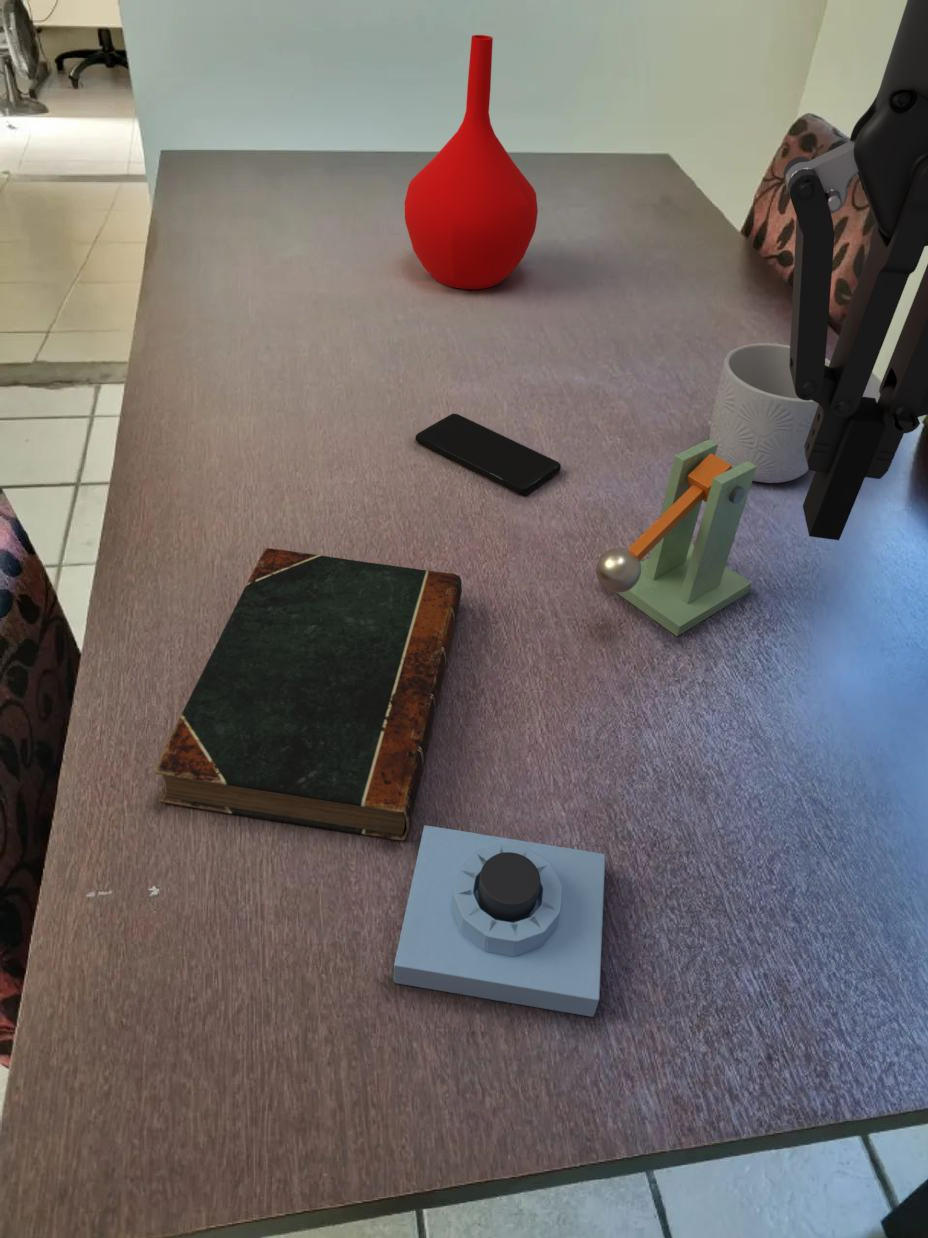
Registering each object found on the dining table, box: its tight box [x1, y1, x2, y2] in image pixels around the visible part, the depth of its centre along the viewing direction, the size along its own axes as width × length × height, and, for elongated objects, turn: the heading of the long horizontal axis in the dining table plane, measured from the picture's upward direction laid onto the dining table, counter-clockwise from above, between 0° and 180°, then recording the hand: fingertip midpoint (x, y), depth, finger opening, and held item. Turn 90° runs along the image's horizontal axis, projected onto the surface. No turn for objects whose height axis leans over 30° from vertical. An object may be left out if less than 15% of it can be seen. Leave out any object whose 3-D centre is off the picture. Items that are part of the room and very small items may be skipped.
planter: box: [708, 342, 831, 484], centre depth 99 cm, size 12×12×11 cm
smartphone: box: [415, 413, 562, 496], centre depth 99 cm, size 7×1×15 cm
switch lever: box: [595, 453, 732, 594], centre depth 76 cm, size 14×4×4 cm, turn 129°
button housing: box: [393, 824, 606, 1018], centre depth 58 cm, size 12×10×4 cm
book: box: [154, 547, 463, 841], centre depth 72 cm, size 17×4×25 cm
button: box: [478, 852, 540, 920], centre depth 56 cm, size 4×4×2 cm
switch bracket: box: [615, 439, 757, 637], centre depth 80 cm, size 10×8×14 cm
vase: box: [404, 34, 539, 290], centre depth 125 cm, size 18×18×30 cm
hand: (820, 522), depth 48 cm, fingers closed
